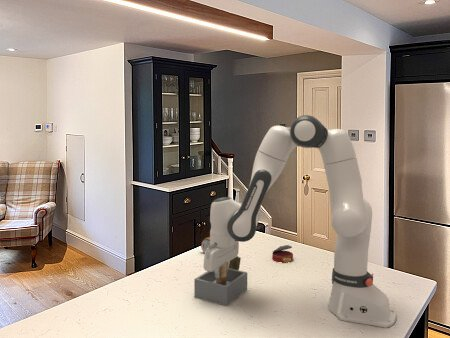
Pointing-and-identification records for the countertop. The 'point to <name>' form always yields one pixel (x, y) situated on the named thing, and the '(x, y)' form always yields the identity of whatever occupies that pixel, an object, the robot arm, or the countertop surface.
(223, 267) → the oak peg
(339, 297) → the robot arm
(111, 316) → the countertop surface
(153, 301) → the countertop surface
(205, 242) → the tin
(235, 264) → the ornate bronze lampshade
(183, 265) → the countertop surface
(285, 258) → the canned food
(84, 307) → the countertop surface
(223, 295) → the socket box
